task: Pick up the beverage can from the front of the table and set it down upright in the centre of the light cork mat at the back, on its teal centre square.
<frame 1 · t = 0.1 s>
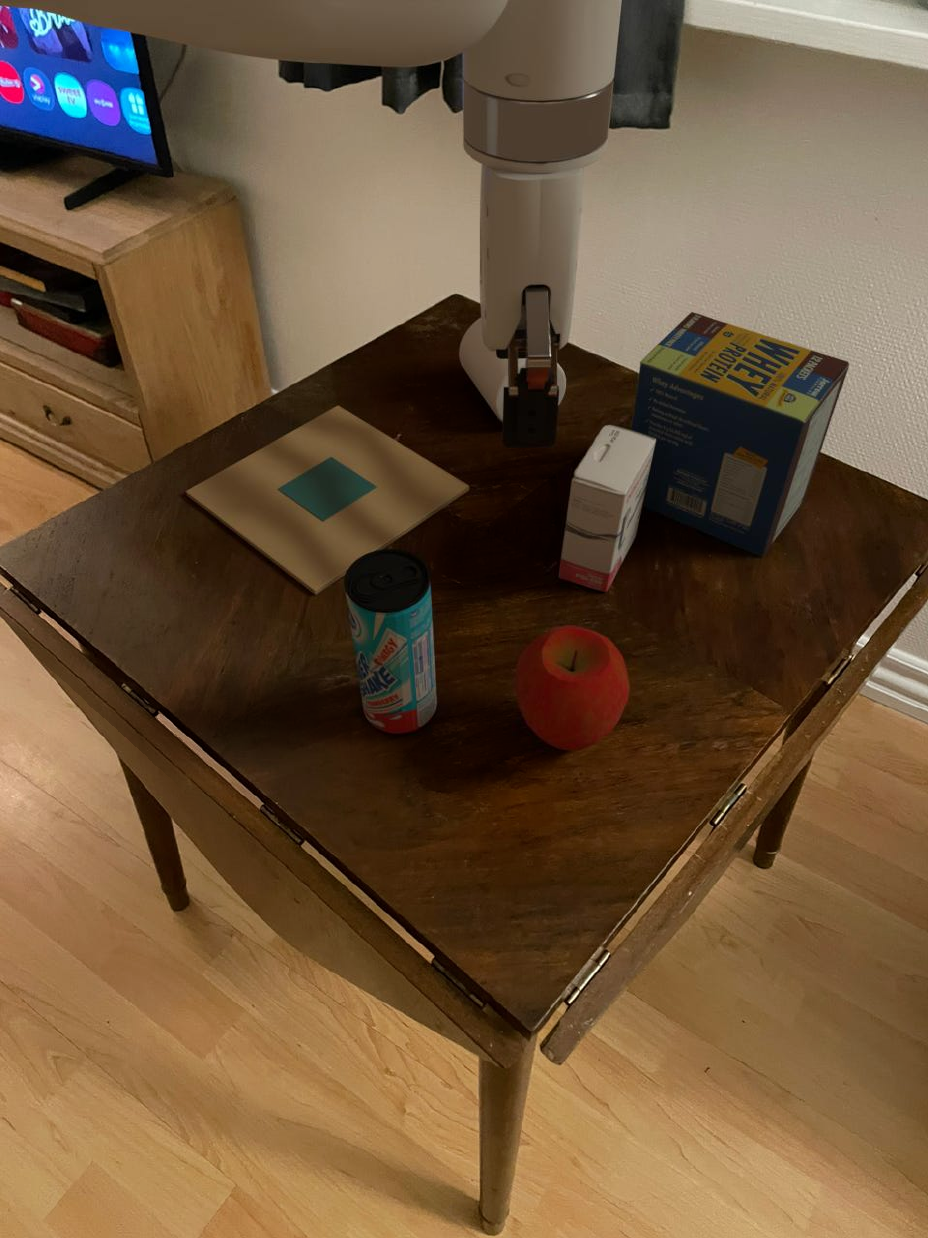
hand: (523, 397, 60), 25 cm above the table, tool pointing down, fingers open, 9 cm apart
apple: (564, 738, 73), on the table
cork mat: (328, 492, 93), on the table
mug: (510, 403, 103), on the table
protein box: (711, 500, 92), on the table
beverage can: (400, 710, 75), on the table
ink box: (599, 559, 87), on the table
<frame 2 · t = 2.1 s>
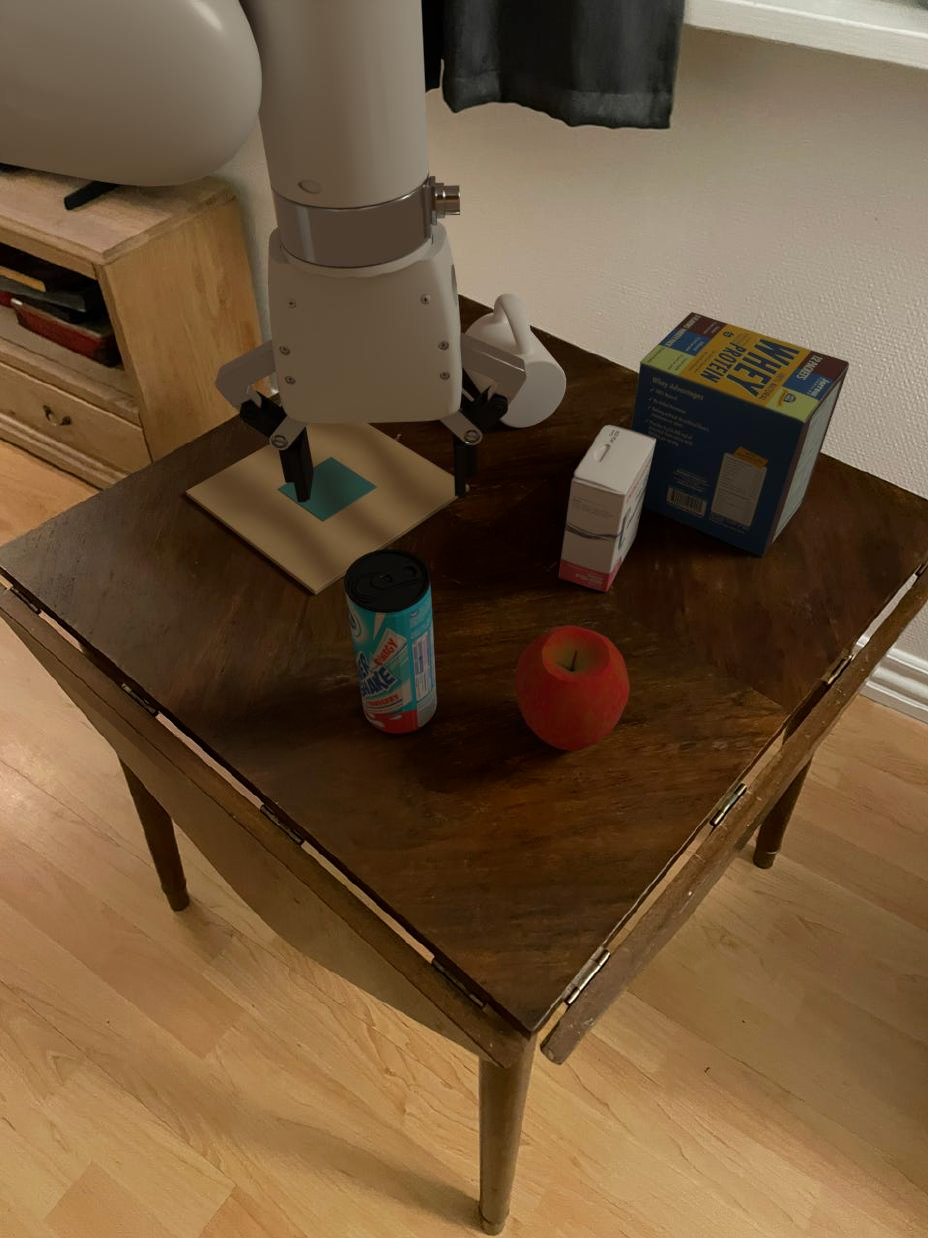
hand: (383, 485, 58), 23 cm above the table, tool pointing down, fingers open, 9 cm apart
nothing on the table moved.
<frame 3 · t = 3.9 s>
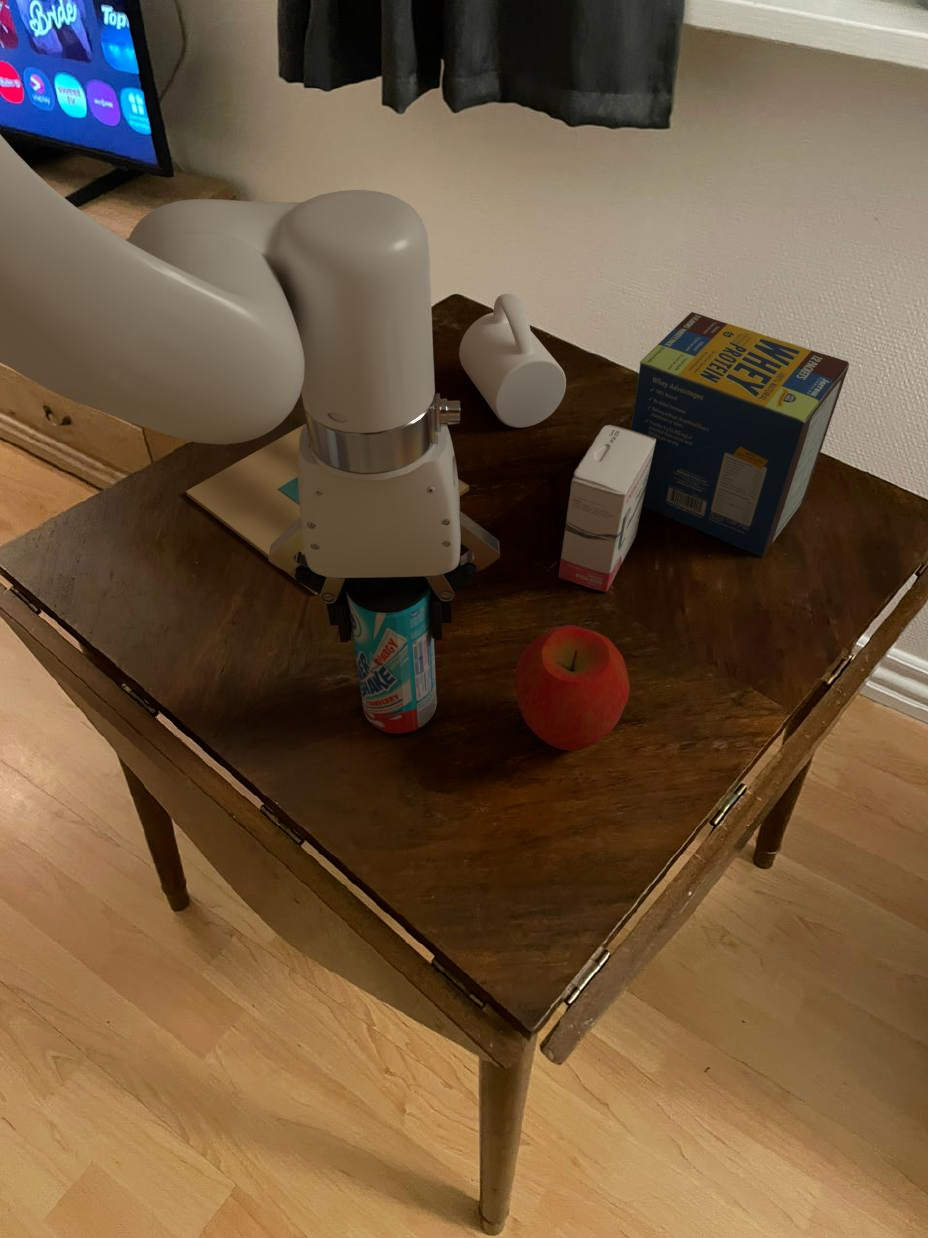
hand: (392, 625, 67), 10 cm above the table, tool pointing down, fingers closed on beverage can, 5 cm apart
beverage can: (400, 710, 75), on the table, touching gripper
everything else where it was.
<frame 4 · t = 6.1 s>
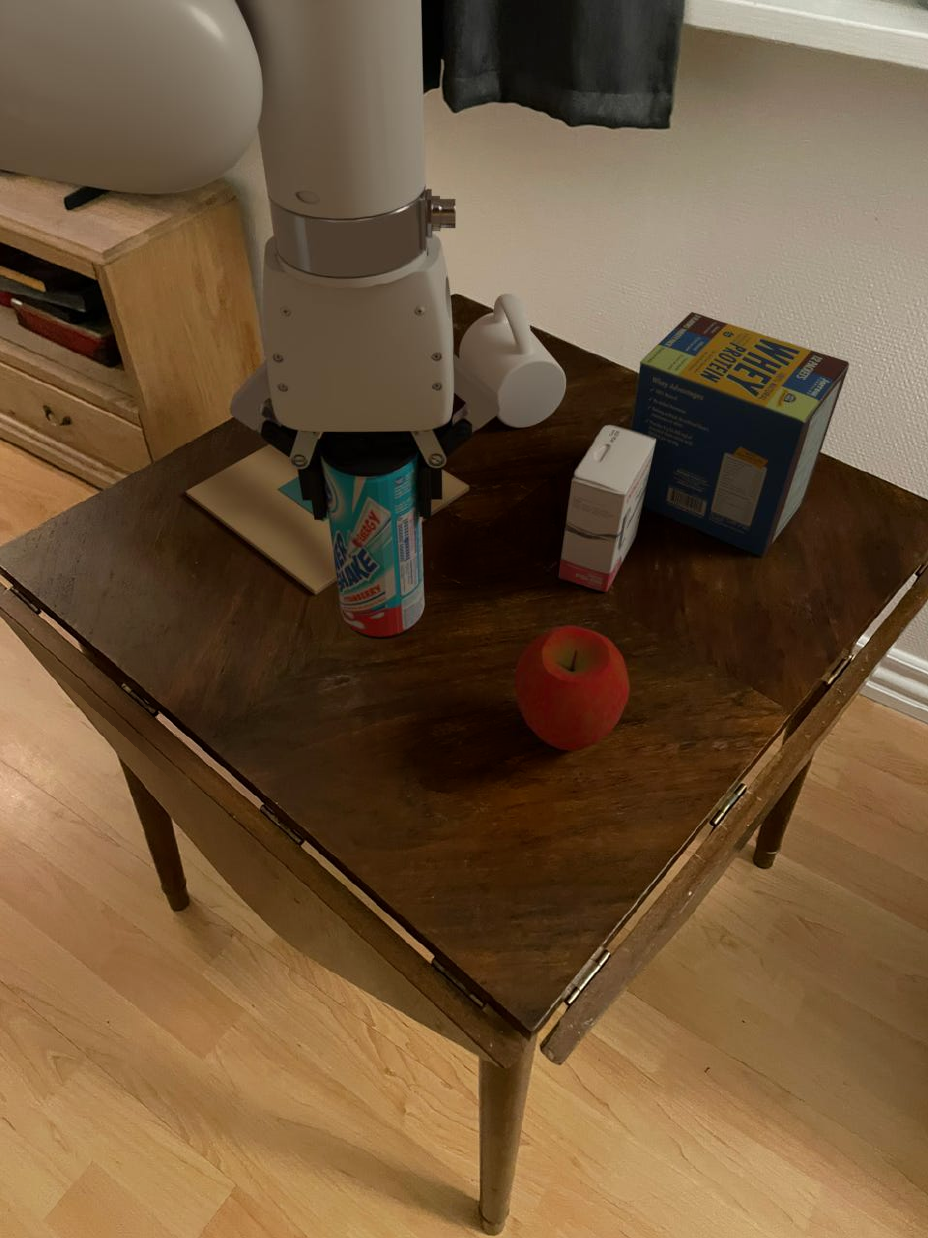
hand: (374, 503, 59), 22 cm above the table, tool pointing down, fingers closed on beverage can, 5 cm apart
beverage can: (383, 614, 66), point 11 cm above the table, touching gripper
everything else where it was.
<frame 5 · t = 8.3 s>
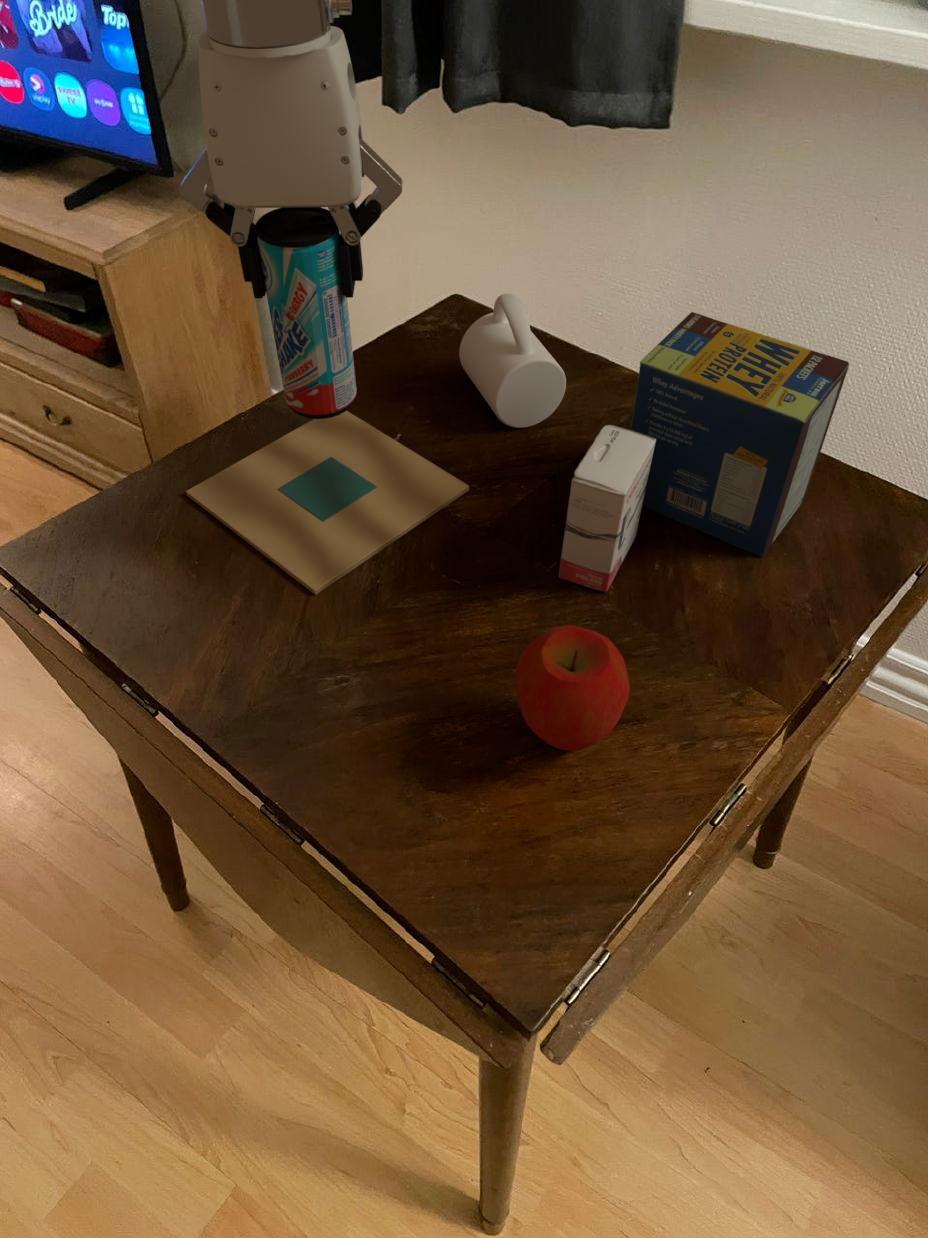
hand: (305, 286, 70), 26 cm above the table, tool pointing down, fingers closed on beverage can, 5 cm apart
beverage can: (322, 403, 77), point 15 cm above the table, touching gripper
everything else where it was.
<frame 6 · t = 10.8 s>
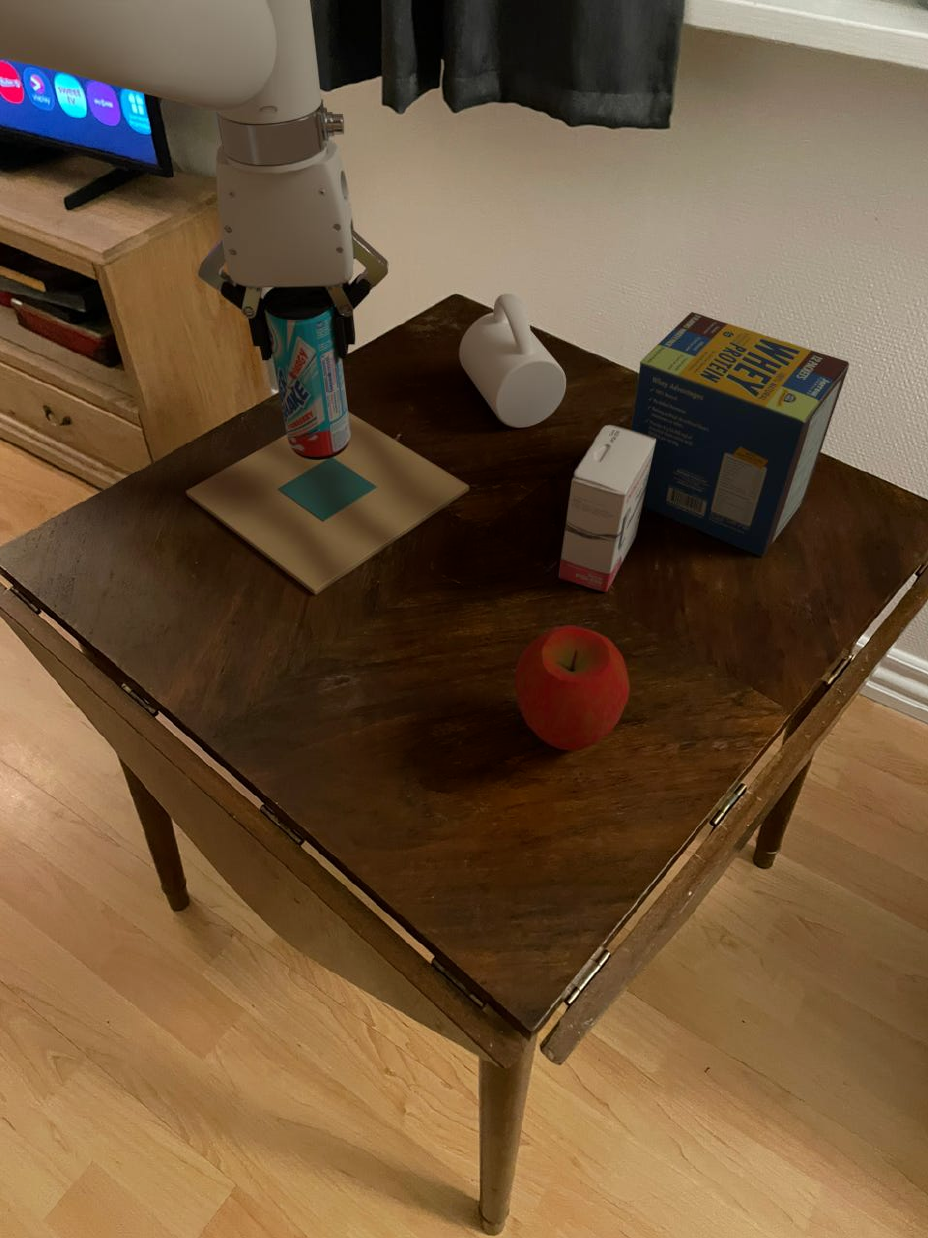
hand: (306, 349, 81), 16 cm above the table, tool pointing down, fingers closed on beverage can, 5 cm apart
beverage can: (320, 445, 89), point 6 cm above the table, touching gripper
everything else where it was.
when the fingers open (11 cm above the table, at t = 12.5 s): beverage can stays where it is, resting on cork mat.
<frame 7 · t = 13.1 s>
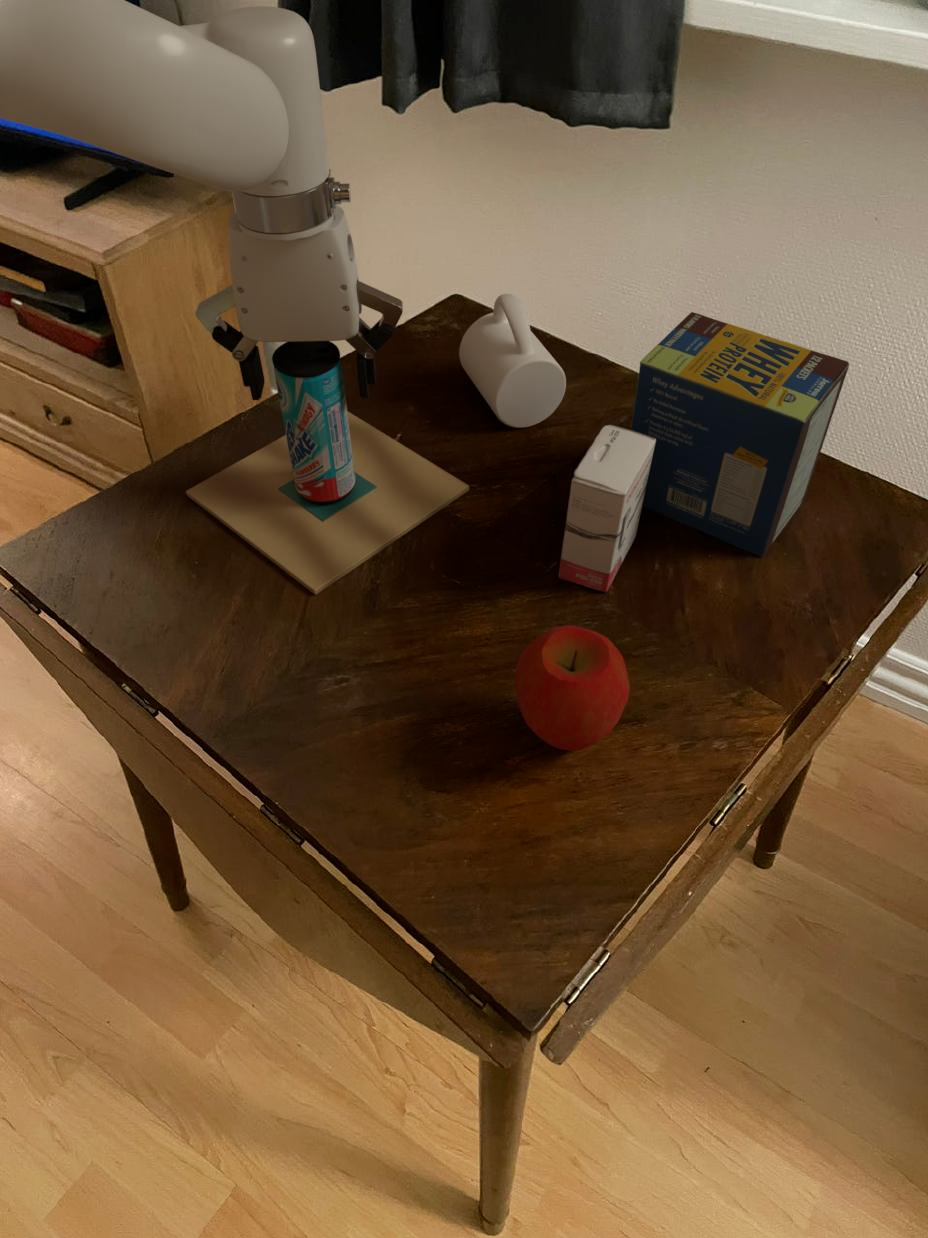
hand: (312, 390, 84), 12 cm above the table, tool pointing down, fingers open, 9 cm apart
beverage can: (326, 489, 93), point 1 cm above the table, touching cork mat
everything else where it was.
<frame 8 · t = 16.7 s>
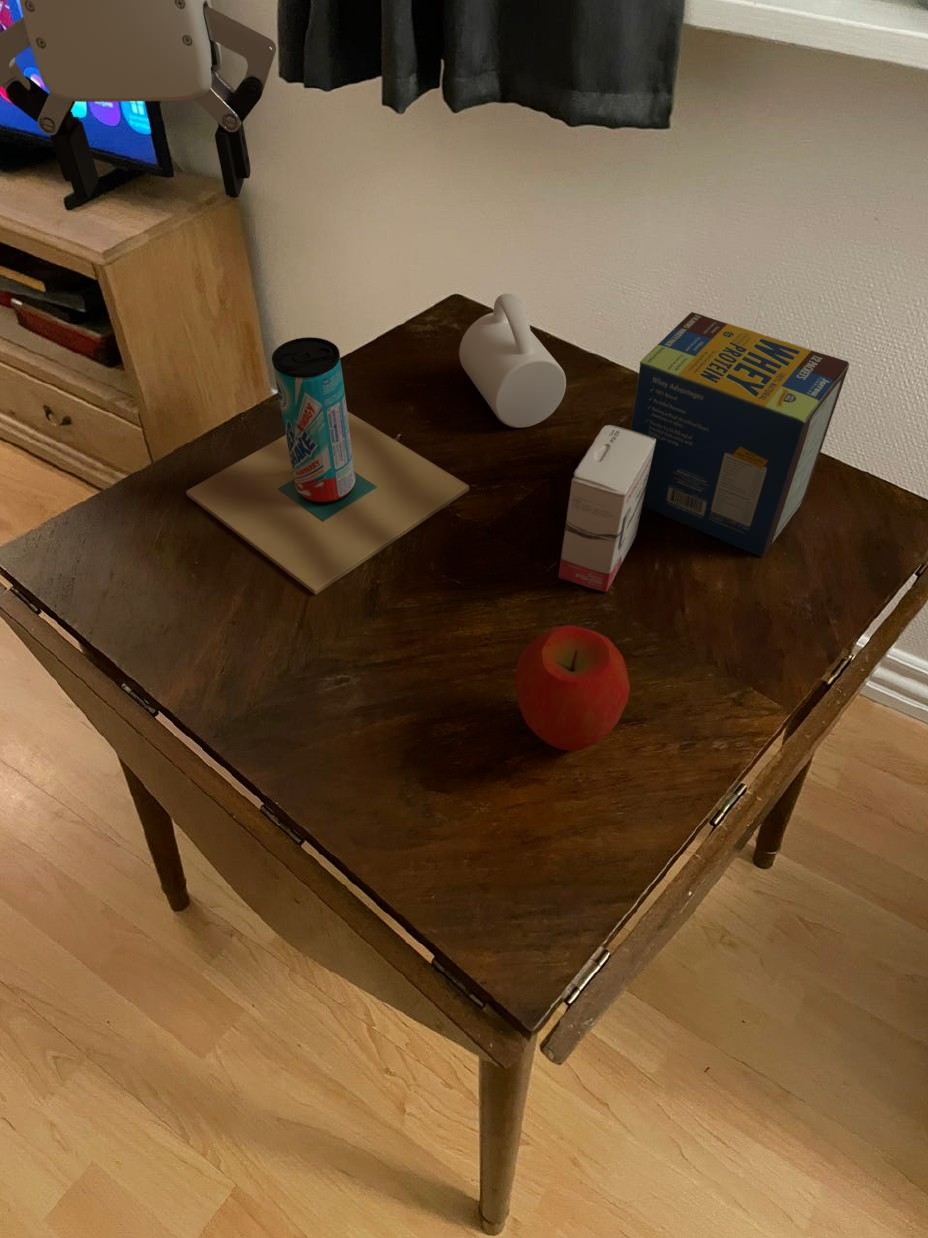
hand: (162, 189, 61), 34 cm above the table, tool pointing down, fingers open, 9 cm apart
nothing on the table moved.
at the end: beverage can 0.1 cm from the cork mat (horizontally); beverage can tilted 0°; the gripper is holding nothing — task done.
